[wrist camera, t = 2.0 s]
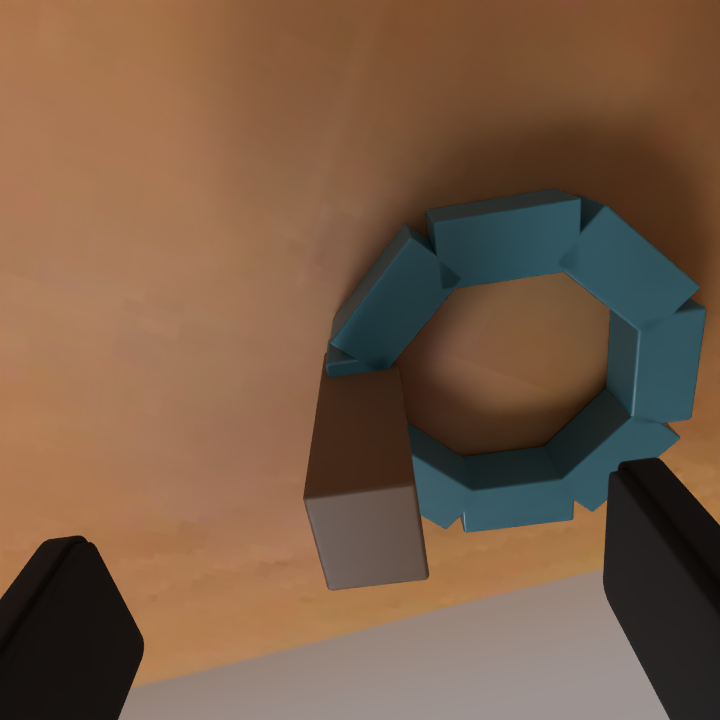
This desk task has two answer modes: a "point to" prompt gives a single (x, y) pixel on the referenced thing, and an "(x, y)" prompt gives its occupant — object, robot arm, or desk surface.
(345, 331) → the teal segmented ring
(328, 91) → the desk surface
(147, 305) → the desk surface
